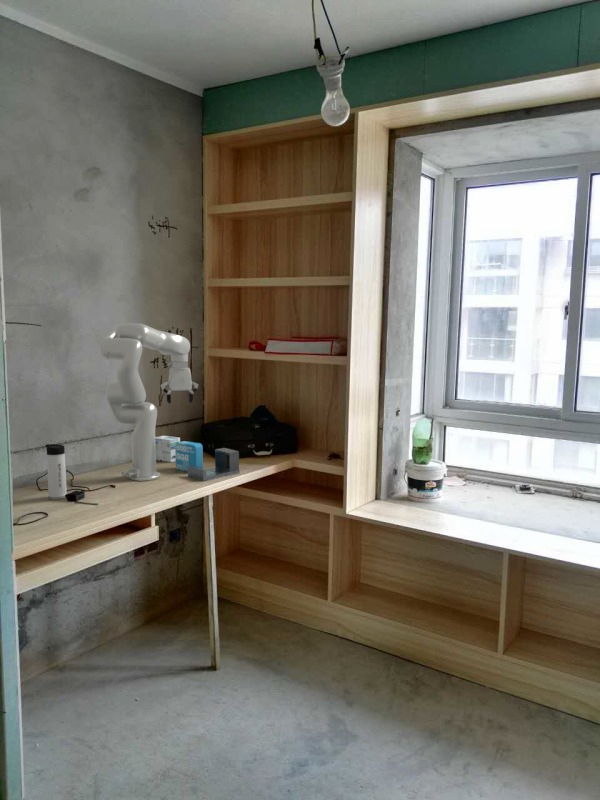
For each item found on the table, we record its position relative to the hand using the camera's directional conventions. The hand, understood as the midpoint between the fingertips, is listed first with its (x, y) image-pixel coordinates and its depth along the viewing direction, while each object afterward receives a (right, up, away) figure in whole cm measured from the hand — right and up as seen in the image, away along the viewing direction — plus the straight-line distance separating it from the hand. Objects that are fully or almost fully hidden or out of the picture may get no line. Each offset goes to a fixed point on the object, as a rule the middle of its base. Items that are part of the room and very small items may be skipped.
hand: (179, 402), depth 289 cm
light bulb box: (-7, -27, +6) cm, 29 cm away
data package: (+7, -30, -13) cm, 33 cm away
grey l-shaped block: (+19, -31, -21) cm, 42 cm away
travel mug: (-35, -35, -56) cm, 75 cm away
